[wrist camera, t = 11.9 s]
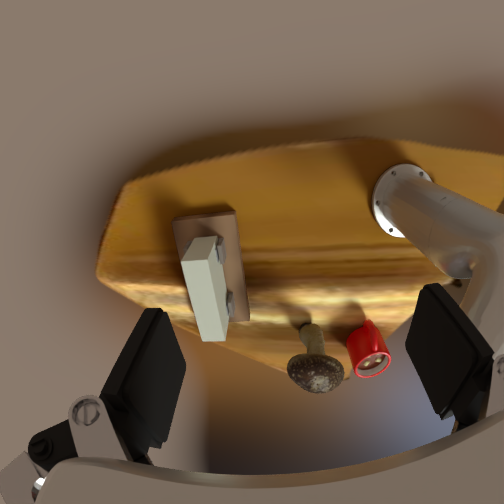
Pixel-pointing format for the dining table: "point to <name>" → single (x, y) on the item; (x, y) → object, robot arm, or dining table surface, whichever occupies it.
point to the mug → (367, 351)
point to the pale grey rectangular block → (207, 288)
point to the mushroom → (315, 363)
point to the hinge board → (227, 249)
